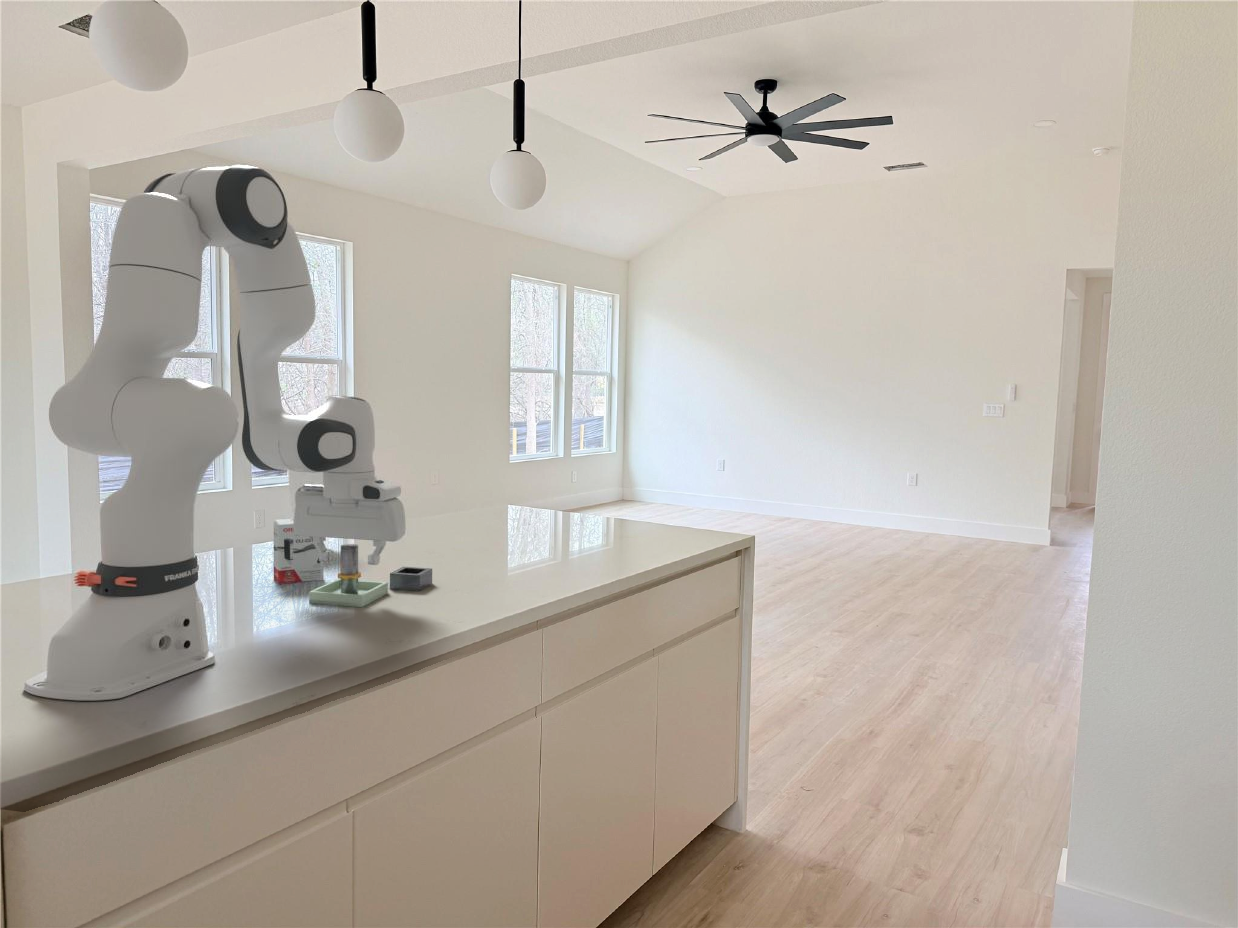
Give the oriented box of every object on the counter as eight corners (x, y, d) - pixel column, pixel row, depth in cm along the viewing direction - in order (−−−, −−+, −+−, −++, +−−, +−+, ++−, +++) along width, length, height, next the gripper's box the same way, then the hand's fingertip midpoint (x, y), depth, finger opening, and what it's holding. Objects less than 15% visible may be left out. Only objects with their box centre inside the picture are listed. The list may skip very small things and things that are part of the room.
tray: (362, 606, 143) (362, 595, 143) (309, 602, 145) (309, 591, 144) (387, 592, 153) (387, 582, 152) (337, 589, 154) (337, 578, 154)
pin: (354, 598, 146) (354, 548, 145) (333, 596, 147) (333, 546, 146) (364, 592, 150) (365, 544, 149) (344, 590, 151) (344, 542, 150)
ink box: (278, 584, 157) (277, 523, 156) (273, 579, 161) (272, 519, 160) (324, 579, 161) (324, 520, 160) (318, 574, 165) (318, 516, 164)
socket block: (419, 590, 155) (419, 575, 154) (389, 588, 156) (389, 573, 155) (432, 583, 161) (432, 568, 160) (403, 581, 162) (403, 566, 161)
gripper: (285, 485, 145) (286, 562, 147) (394, 491, 142) (393, 570, 143) (305, 481, 151) (305, 555, 153) (409, 487, 148) (409, 562, 149)
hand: (349, 562), depth 148 cm, fingers open, 8 cm apart
